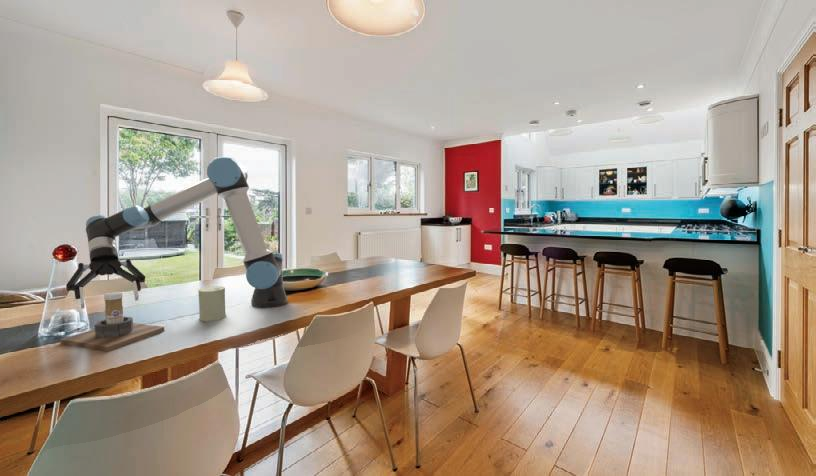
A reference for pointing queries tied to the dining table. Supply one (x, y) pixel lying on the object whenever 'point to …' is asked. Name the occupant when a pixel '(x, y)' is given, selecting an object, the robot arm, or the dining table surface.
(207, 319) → the can
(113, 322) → the sprinkles bottle
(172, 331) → the dining table surface
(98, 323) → the bottle holder
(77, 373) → the dining table surface
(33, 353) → the dining table surface
